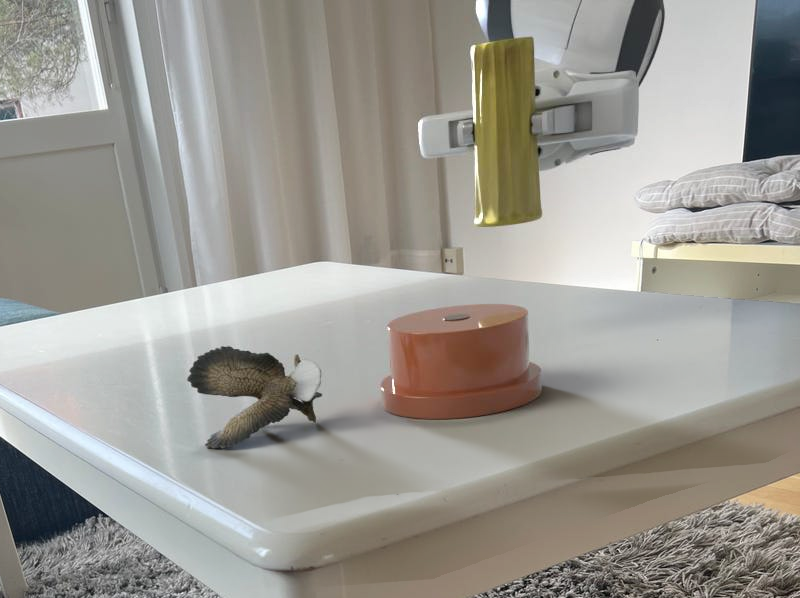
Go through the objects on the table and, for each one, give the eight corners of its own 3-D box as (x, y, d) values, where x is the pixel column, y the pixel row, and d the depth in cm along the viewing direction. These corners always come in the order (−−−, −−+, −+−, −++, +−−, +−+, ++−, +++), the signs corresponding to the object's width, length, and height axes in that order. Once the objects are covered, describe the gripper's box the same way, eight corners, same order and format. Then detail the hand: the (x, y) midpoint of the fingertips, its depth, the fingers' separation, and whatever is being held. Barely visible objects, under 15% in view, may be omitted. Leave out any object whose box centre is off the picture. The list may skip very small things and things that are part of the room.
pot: (532, 370, 81) (531, 294, 78) (550, 409, 70) (549, 323, 67) (384, 385, 83) (377, 311, 80) (379, 425, 72) (371, 341, 69)
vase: (550, 219, 87) (547, 33, 80) (482, 229, 87) (473, 43, 80) (532, 215, 92) (528, 40, 85) (468, 224, 92) (459, 50, 85)
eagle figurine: (285, 394, 79) (179, 397, 75) (309, 322, 73) (196, 321, 70) (318, 462, 75) (208, 469, 71) (346, 391, 70) (229, 394, 66)
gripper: (444, 99, 99) (390, 104, 88) (653, 67, 90) (620, 69, 79) (448, 167, 102) (396, 180, 91) (651, 143, 92) (619, 155, 82)
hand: (502, 128), depth 85 cm, fingers closed on vase, 5 cm apart
